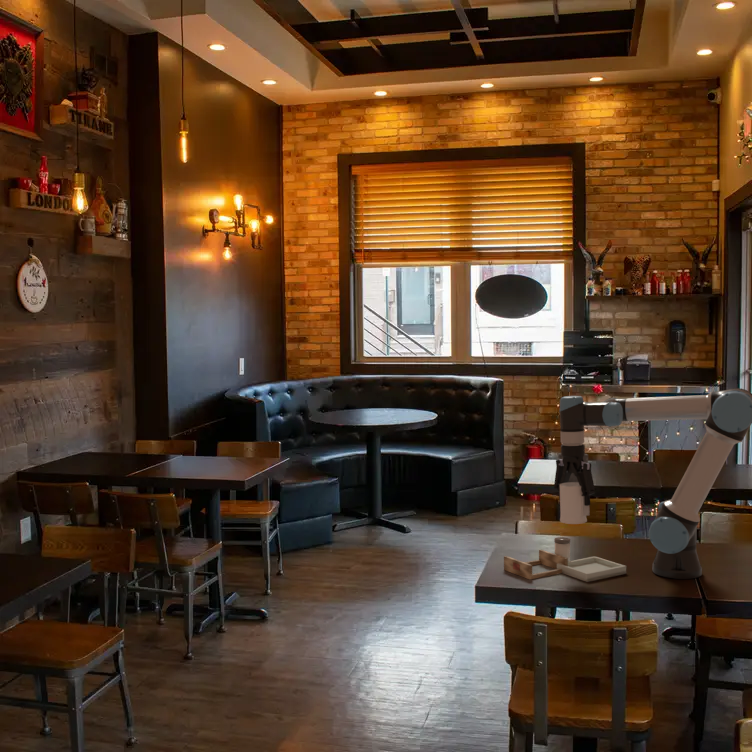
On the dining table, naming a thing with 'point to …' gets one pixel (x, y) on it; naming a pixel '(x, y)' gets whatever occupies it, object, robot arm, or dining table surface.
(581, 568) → the tray
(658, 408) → the robot arm
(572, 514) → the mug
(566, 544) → the salt jar
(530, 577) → the oak caddy
